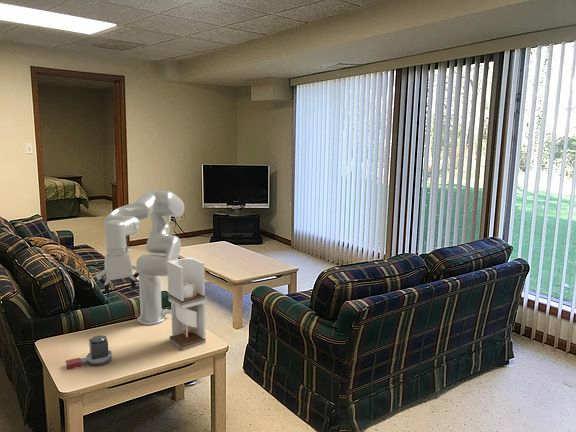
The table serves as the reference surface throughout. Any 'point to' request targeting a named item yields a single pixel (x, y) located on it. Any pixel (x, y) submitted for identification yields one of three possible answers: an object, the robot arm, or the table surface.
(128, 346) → the table surface
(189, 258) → the two-tier white tower
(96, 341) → the socket
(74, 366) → the ratchet
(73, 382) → the table surface
